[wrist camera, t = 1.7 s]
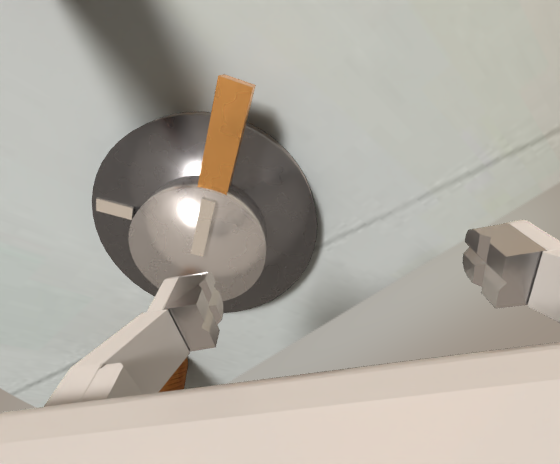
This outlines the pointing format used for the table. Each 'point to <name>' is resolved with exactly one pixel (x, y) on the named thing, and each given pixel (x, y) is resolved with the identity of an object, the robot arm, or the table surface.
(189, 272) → the dial
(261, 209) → the plate
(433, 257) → the table surface
